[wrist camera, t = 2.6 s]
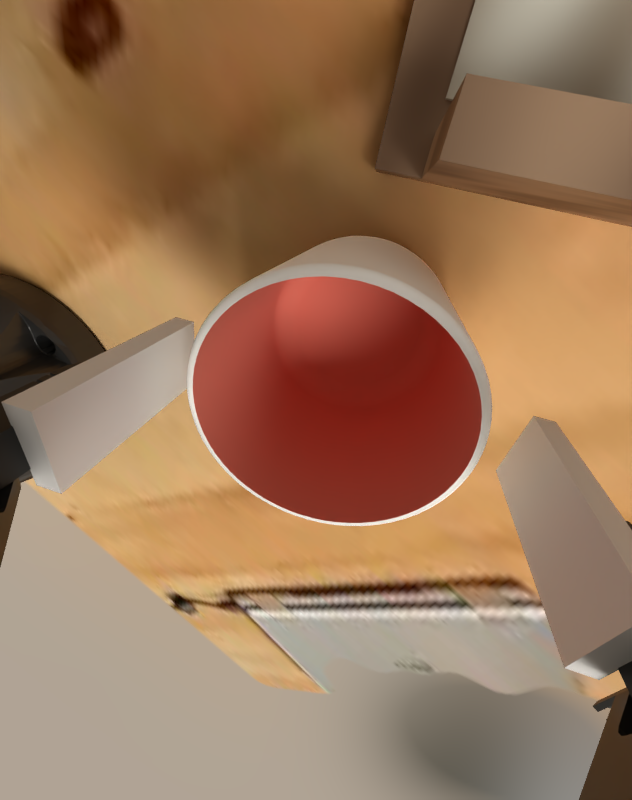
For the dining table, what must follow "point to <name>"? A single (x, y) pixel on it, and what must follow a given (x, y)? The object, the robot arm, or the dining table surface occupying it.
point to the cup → (342, 385)
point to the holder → (517, 103)
